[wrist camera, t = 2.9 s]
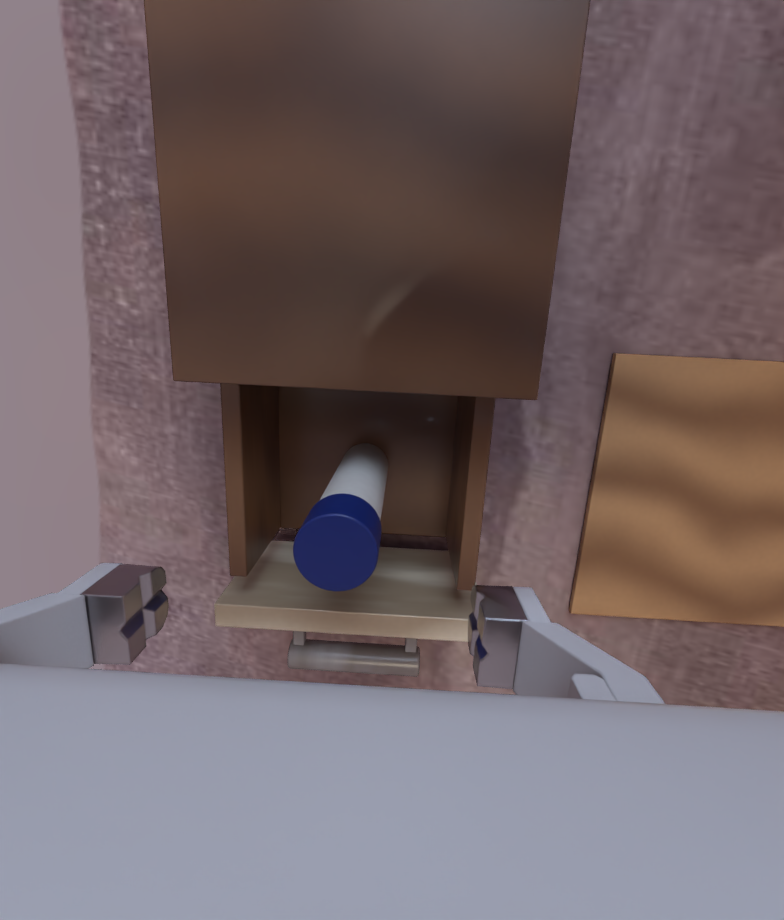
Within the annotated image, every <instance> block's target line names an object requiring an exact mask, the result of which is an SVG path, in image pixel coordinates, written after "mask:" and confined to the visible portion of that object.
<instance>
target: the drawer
mask: <svg viewBox="0 0 784 920" xmlns="http://www.w3.org/2000/svg"><path fill="white" fill-rule="evenodd" d="M220 385H221V405H222V425H223V445H224V464H225V484H226V504H227V524H228V544H229V563H230V576H235V577H234V578H233V579H232V581H231V582H230V584H229V585H228V586H227V588H226V589H225V590H224V592H223V593H222V594H221V596H220V597H219V598H218V600H217V601H216V602H215V604H214V607H215V624H216V626H222V627H238V628H254V629H269V630H285V631H293V639H292V641H291V643H290V647H289V651H288V667H289V668H290V669H305V670H321V671H336V672H352V673H367V674H383V675H398V676H414V677H417V676H418V675H419V667H420V649H419V647H418V646H417V639H429V640H445V641H461V642H468V617H469V615H470V614H471V613H472V611H473V609H472V605H471V601H470V598H471V591H472V586H474V585H477V584H476V571H477V562H478V553H479V544H480V535H481V526H482V517H483V507H484V498H485V489H486V480H487V471H488V462H489V453H490V443H491V434H492V425H493V416H494V407H495V398H486V397H467V396H448V395H429V394H410V393H392V392H373V391H354V390H335V389H316V388H297V387H278V386H259V385H240V384H221V383H220ZM362 443H368V444H372V445H375V446H377V447H378V448H380V449H381V450H382V451H383V452H384V454H385V455H386V457H387V460H388V473H387V479H386V486H385V493H384V500H383V507H382V514H381V520H380V522H381V529H382V532H381V533H383V534H400V535H417V536H434V537H446V540H447V545H448V550H449V551H442V550H425V549H408V548H391V547H380V548H379V555H378V562H377V565H376V568H375V570H374V572H373V573H372V575H371V576H370V577H369V579H367V580H366V581H365V582H364V583H363V584H361V585H360V586H358V587H356V588H353V589H351V590H347V591H328V590H324V589H321V588H319V587H317V586H315V585H313V584H311V583H310V582H309V581H308V580H306V579H305V578H304V577H303V575H302V574H301V573H300V571H299V570H298V568H297V566H296V563H295V561H294V556H293V544H294V542H290V541H273V540H272V539H273V538H274V536H275V535H276V534H277V532H278V531H279V529H280V527H281V528H298V529H300V528H301V526H302V524H303V522H304V521H305V519H306V517H307V516H308V514H309V512H310V510H311V509H312V508H313V506H314V505H315V504H316V503H317V502H318V501H319V500H320V498H321V497H322V495H323V493H324V491H325V490H326V488H327V486H328V484H329V482H330V481H331V479H332V477H333V475H334V473H335V472H336V470H337V468H338V466H339V465H340V463H341V461H342V459H343V457H344V456H345V454H346V452H347V451H348V450H349V449H350V448H351V447H353V446H355V445H357V444H362ZM306 632H317V633H333V634H349V635H365V636H381V637H397V638H405V645H389V644H373V643H357V642H342V641H326V640H310V639H306Z"/></svg>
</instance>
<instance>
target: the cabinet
mask: <svg viewBox="0 0 784 920" xmlns="http://www.w3.org/2000/svg"><path fill="white" fill-rule="evenodd" d="M589 7H590V0H144V8H145V21H146V34H147V47H148V60H149V73H150V86H151V99H152V111H153V124H154V137H155V150H156V163H157V176H158V189H159V202H160V215H161V228H162V240H163V253H164V266H165V279H166V292H167V305H168V318H169V331H170V344H171V357H172V369H173V380H174V381H184V382H202V383H221V384H240V385H259V386H278V387H297V388H316V389H335V390H354V391H373V392H392V393H410V394H429V395H448V396H467V397H486V398H505V399H524V400H537V396H538V388H539V381H540V373H541V366H542V358H543V351H544V344H545V336H546V329H547V321H548V314H549V306H550V299H551V291H552V284H553V276H554V269H555V261H556V254H557V246H558V239H559V231H560V224H561V216H562V209H563V201H564V194H565V187H566V179H567V172H568V164H569V157H570V149H571V142H572V134H573V127H574V119H575V112H576V104H577V97H578V89H579V82H580V74H581V67H582V59H583V52H584V45H585V37H586V30H587V22H588V15H589Z"/></svg>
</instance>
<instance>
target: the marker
mask: <svg viewBox="0 0 784 920" xmlns="http://www.w3.org/2000/svg"><path fill="white" fill-rule="evenodd" d="M387 473H388V460H387V457H386V455H385V454H384V452H383V451H382V450H381V449H380V448H378V447H377V446H375V445H372V444H368V443H362V444H357V445H355V446H353V447H351V448H350V449H349V450H348V451H347V452H346V454H345V456H344V457H343V459H342V461H341V463H340V465H339V466H338V468H337V470H336V472H335V473H334V475H333V477H332V479H331V481H330V482H329V484H328V486H327V488H326V490H325V491H324V493H323V495H322V497H321V498H320V500H319V501H318V502H317V503H316V504H315V505H314V506H313V508H312V509H311V510H310V512H309V514H308V516H307V517H306V519H305V521H304V522H303V524H302V526H301V528H300V529H299V531H298V533H297V535H296V537H295V540H294V544H293V556H294V561H295V563H296V566H297V568H298V570H299V571H300V573H301V574H302V575H303V577H304V578H305V579H306V580H308V581H309V582H310V583H311V584H313V585H315V586H317V587H319V588H321V589H324V590H328V591H347V590H351V589H353V588H356V587H358V586H360V585H361V584H363V583H364V582H365V581H366V580H367V579H369V577H370V576H371V575H372V573H373V572H374V570H375V568H376V565H377V562H378V555H379V548H380V540H381V532H382V529H381V522H380V520H381V514H382V507H383V500H384V493H385V486H386V479H387Z"/></svg>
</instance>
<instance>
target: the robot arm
mask: <svg viewBox="0 0 784 920" xmlns="http://www.w3.org/2000/svg"><path fill="white" fill-rule="evenodd" d="M166 583H167V582H166V575H165V570H164V569H163V568H162V567H158V566H145V565H132V564H122V563H100V564H99V565H97V566H96V567H95V568H93V569H92V570H90V571H89V572H87V573H86V574H84V575H83V576H82V577H80V578H79V579H77V580H76V581H74V582H73V583H71V584H70V585H69V586H67V587H66V588H64V589H63V590H61V591H60V592H58V593H56V594H55V593H50V594H47V595H43V596H40V597H37V598H34V599H31V600H28V601H24V602H21V603H18V604H15V605H12V606H9V607H6V608H2V609H0V920H784V711H770V710H754V709H738V708H722V707H705V706H689V705H673V704H665V702H664V701H663V700H662V698H661V697H660V696H659V694H658V693H657V692H656V690H655V689H654V688H653V686H652V685H651V684H650V682H649V681H648V679H647V678H646V677H645V676H644V675H642V674H640V673H639V672H637V671H635V670H634V669H632V668H630V667H629V666H627V665H625V664H624V663H622V662H621V661H619V660H617V659H616V658H614V657H612V656H611V655H609V654H607V653H606V652H604V651H602V650H601V649H599V648H597V647H596V646H594V645H593V644H591V643H589V642H588V641H586V640H584V639H583V638H581V637H579V636H578V635H576V634H574V633H573V632H571V631H569V630H568V629H566V628H565V627H563V626H561V625H560V624H558V623H551V621H550V619H549V618H548V616H547V614H546V612H545V610H544V609H543V607H542V605H541V603H540V601H539V600H538V598H537V596H536V594H535V592H534V591H533V589H532V588H531V587H512V586H485V585H474V586H472V591H471V598H470V601H471V605H472V609H473V611H472V613H471V614H470V615H469V617H468V646H469V651H470V654H471V655H472V656H474V659H473V669H474V674H475V678H476V682H477V686H483V687H494V688H505V689H513V691H514V692H515V693H516V695H510V694H494V693H478V692H461V691H445V690H428V689H412V688H396V687H379V686H363V685H346V684H330V683H314V682H297V681H281V680H265V679H248V678H232V677H216V676H200V675H183V674H167V673H151V672H134V671H118V670H102V669H89V668H90V667H92V666H94V664H123V665H130V664H131V663H132V662H133V661H134V660H135V658H136V657H137V656H138V655H139V654H140V653H141V652H142V651H143V649H144V648H145V647H146V639H148V638H150V637H152V636H154V635H156V634H157V633H158V632H159V631H160V630H161V628H162V627H163V625H164V623H165V620H166V618H167V614H168V597H167V596H166V595H165V594H164V592H163V591H162V588H163V587H164V585H165V584H166Z"/></svg>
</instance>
